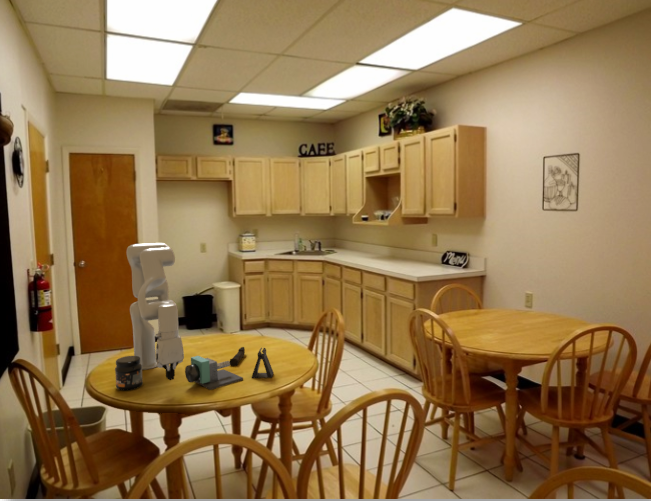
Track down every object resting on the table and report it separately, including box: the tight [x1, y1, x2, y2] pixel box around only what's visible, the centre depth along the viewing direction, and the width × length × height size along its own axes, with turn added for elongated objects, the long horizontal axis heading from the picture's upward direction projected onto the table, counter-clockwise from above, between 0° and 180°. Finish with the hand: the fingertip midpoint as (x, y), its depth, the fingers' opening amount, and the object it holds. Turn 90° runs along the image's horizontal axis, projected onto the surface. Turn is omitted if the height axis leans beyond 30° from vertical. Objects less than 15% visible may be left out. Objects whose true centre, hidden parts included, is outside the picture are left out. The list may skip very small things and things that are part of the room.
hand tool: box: [229, 346, 246, 367], centre depth 231 cm, size 19×4×5 cm, turn 173°
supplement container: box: [114, 355, 144, 392], centre depth 197 cm, size 10×10×12 cm
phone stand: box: [251, 347, 274, 379], centre depth 208 cm, size 9×6×12 cm, turn 88°
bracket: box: [205, 357, 219, 384], centre depth 201 cm, size 8×4×8 cm, turn 44°
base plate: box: [193, 368, 244, 391], centre depth 204 cm, size 16×16×1 cm
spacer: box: [190, 355, 210, 384], centre depth 198 cm, size 9×4×9 cm, turn 44°
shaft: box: [184, 360, 231, 384], centre depth 201 cm, size 7×19×7 cm, turn 134°
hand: (170, 378), depth 189 cm, fingers closed
